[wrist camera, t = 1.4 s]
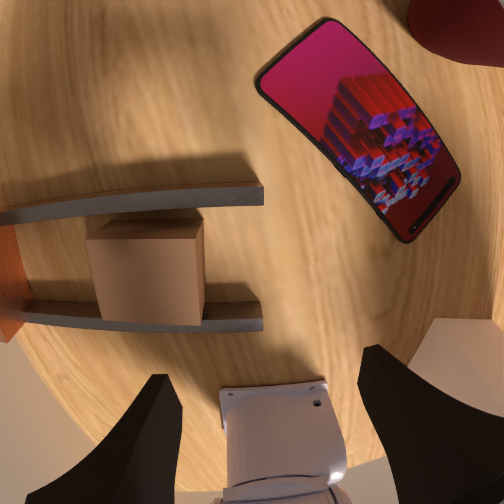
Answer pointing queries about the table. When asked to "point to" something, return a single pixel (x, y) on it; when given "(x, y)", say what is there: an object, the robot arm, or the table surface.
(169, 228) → the block
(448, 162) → the smartphone
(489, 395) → the milk
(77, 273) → the table surface
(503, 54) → the mug
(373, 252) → the table surface
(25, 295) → the guide lane
